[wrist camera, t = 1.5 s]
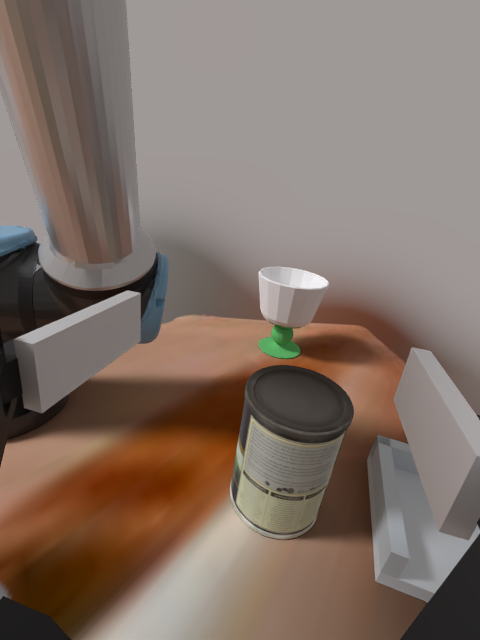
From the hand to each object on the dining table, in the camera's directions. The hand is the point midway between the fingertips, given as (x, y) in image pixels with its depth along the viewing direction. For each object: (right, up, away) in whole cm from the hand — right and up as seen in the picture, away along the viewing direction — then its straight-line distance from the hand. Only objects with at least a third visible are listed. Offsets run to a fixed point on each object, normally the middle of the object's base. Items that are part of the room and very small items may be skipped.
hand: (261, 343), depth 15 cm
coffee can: (+3, -19, +21) cm, 28 cm away
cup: (+7, -5, +53) cm, 54 cm away
